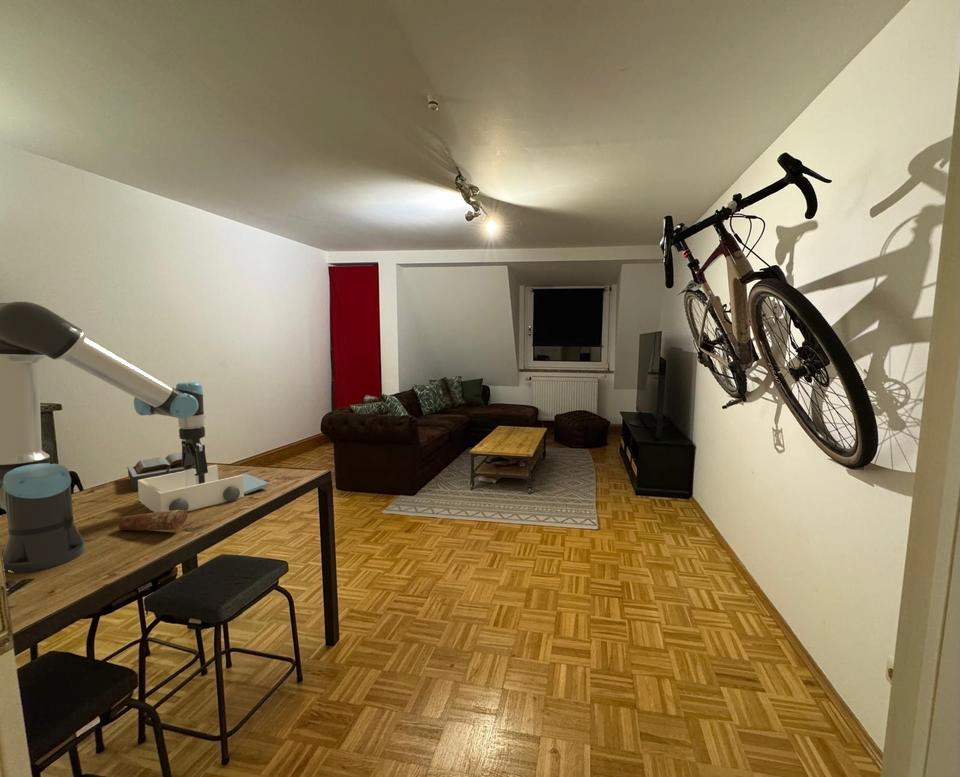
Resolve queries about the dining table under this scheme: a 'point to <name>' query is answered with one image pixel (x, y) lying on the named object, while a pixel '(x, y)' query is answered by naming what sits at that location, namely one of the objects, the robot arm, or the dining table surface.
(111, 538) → the dining table surface
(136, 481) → the bible
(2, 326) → the robot arm
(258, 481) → the tailgate
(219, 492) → the white toy wagon
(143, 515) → the bread
